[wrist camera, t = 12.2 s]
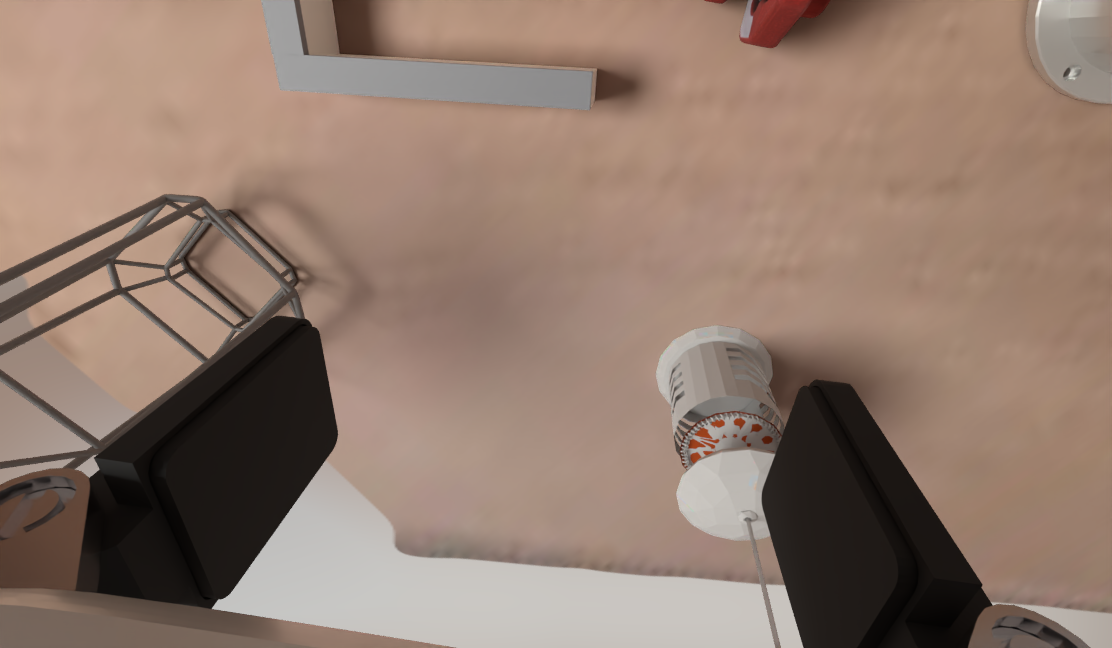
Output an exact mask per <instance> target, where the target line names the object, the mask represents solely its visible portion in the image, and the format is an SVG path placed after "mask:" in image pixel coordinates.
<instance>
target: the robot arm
mask: <svg viewBox="0 0 1112 648" xmlns="http://www.w3.org/2000/svg"><path fill="white" fill-rule="evenodd" d="M1025 29H1026V39H1027V48H1028V51H1029V54H1030V57H1031V60H1032V62H1033V65H1034V67H1035V69H1036V70H1037V71H1038V73H1039V74H1040V76H1041V77H1042V78H1043V80H1044V81H1045V82H1046V83H1048V84H1049V85H1050V86H1051V87H1053V88H1054V89H1055V90H1057V91H1058V92H1059V93H1062V94H1064V95H1067V96H1069V97H1071V98H1074V99H1076V100H1082V101H1088V102H1093V103H1103V104H1112V0H1029V3H1028V9H1027V18H1026V28H1025ZM1064 72H1065V73H1064ZM337 437H338V430H337V424H336V419H335V413H334V408H333V403H332V397H331V392H330V387H329V381H328V376H327V371H326V365H325V360H324V354H323V349H322V344H321V338H320V334H319V331H318V330H317V328H315V327H312V325H311V323H310V322H309V321H308V320H307V319H303V318H294V317H286V316H275V317H273V318H271V319H270V320H269V321H267V322H266V323H265V324H264V325H262V326H261V327H260V328H258V329H257V330H256V331H255V332H253V333H252V334H251V335H250V336H248V337H247V338H246V339H244V340H243V341H242V342H241V343H239V344H238V345H237V346H236V347H234V348H233V349H232V350H230V351H229V352H228V353H227V354H225V355H224V356H223V357H222V358H220V359H219V360H218V361H216V362H215V363H214V364H213V365H211V366H210V367H209V368H208V369H206V370H205V371H204V372H202V373H201V374H200V375H199V376H197V377H196V378H195V379H194V380H192V381H191V382H190V383H188V384H187V385H186V386H185V387H183V388H182V389H181V390H180V391H178V392H177V393H176V394H174V395H173V396H172V397H171V398H169V399H168V400H167V401H166V402H164V403H163V404H162V405H160V406H159V407H158V408H157V409H155V410H154V411H153V412H152V413H150V414H149V415H148V416H146V417H145V418H144V419H143V420H141V421H140V422H139V423H138V424H136V425H135V426H134V427H133V428H131V429H130V430H129V431H127V432H126V433H125V434H124V435H122V436H121V437H120V438H119V439H117V440H116V441H115V442H113V443H112V444H111V445H110V446H108V447H107V448H106V449H105V450H103V451H102V452H101V453H99V454H98V455H97V456H96V457H94V459H95V461H96V463H97V465H98V467H99V469H100V470H99V471H97V472H96V473H95V474H94V475H93V476H91V477H90V478H89V477H88V476H86V475H85V474H84V473H83V472H82V471H79V470H74V469H70V468H56V469H47V470H42V471H37V472H32V473H29V474H26V475H23V476H20V477H17V478H14V479H11V480H9V481H7V482H5V483H3V484H1V485H0V648H454V647H448V646H442V645H435V644H429V643H423V642H417V641H411V640H404V639H398V638H392V637H386V636H380V635H374V634H367V633H361V632H355V631H348V630H342V629H335V628H329V627H323V626H316V625H310V624H303V623H297V622H291V621H284V620H278V619H272V618H265V617H259V616H252V615H246V614H240V613H233V612H227V611H221V610H214V609H212V607H213V606H214V604H215V603H216V602H217V600H218V599H223V598H225V597H226V596H228V595H229V594H230V593H231V592H232V590H233V589H234V588H235V586H236V585H237V584H238V582H239V581H240V579H241V578H242V577H243V575H244V574H245V572H246V571H247V569H248V568H249V567H250V565H251V564H252V562H253V561H254V560H255V558H256V557H257V555H258V554H259V553H260V551H261V550H262V548H263V547H264V546H265V544H266V543H267V542H268V540H269V539H270V537H271V536H272V535H273V533H274V532H275V530H276V529H277V528H278V526H279V524H280V523H281V522H282V520H283V519H284V518H285V516H286V515H287V513H288V512H289V511H290V509H291V508H292V506H293V505H294V504H295V502H296V501H297V499H298V498H299V497H300V495H301V494H302V492H303V491H304V490H305V488H306V487H307V485H308V484H309V483H310V481H311V480H312V478H313V477H314V476H315V474H316V473H317V471H318V470H319V469H320V467H321V466H322V464H323V463H324V462H325V460H326V459H327V457H328V456H329V455H330V453H331V452H332V450H333V449H334V447H335V445H336V442H337ZM761 501H762V508H763V512H764V515H765V519H766V522H767V525H768V529H769V532H770V535H771V539H772V542H773V546H774V549H775V552H776V556H777V559H778V563H779V566H780V569H781V573H782V576H783V580H784V583H785V586H786V590H787V593H788V596H789V600H790V603H791V607H792V610H793V613H794V617H795V620H796V624H797V627H798V630H799V634H800V637H801V640H802V644H803V647H804V648H1090V647H1089V646H1088V645H1087V644H1086V643H1084V642H1083V641H1082V640H1081V639H1080V638H1079V637H1077V636H1076V635H1074V634H1073V633H1071V632H1070V631H1068V630H1067V629H1065V628H1064V627H1062V626H1061V625H1059V624H1058V623H1056V622H1054V621H1052V620H1050V619H1048V618H1046V617H1044V616H1042V615H1040V614H1038V613H1036V612H1034V611H1031V610H1028V609H1025V608H1021V607H1018V606H1015V605H1002V604H996V605H992V603H991V602H990V600H989V599H988V597H987V596H986V594H985V593H984V591H983V590H982V588H981V587H982V583H981V582H980V580H979V579H978V577H977V576H976V574H975V572H974V571H973V569H972V568H971V566H970V565H969V563H968V562H967V560H966V559H965V557H964V556H963V554H962V553H961V551H960V550H959V548H958V547H957V545H956V544H955V542H954V541H953V539H952V538H951V536H950V534H949V533H948V531H947V530H946V528H945V527H944V525H943V524H942V522H941V521H940V519H939V518H938V516H937V515H936V513H935V512H934V510H933V509H932V507H931V506H930V504H929V503H928V501H927V500H926V498H925V496H924V495H923V493H922V492H921V490H920V489H919V487H918V486H917V484H916V483H915V481H914V480H913V478H912V477H911V475H910V474H909V472H908V471H907V469H906V468H905V466H904V465H903V463H902V462H901V460H900V459H899V457H898V455H897V454H896V452H895V451H894V449H893V448H892V446H891V445H890V443H889V442H888V440H887V439H886V437H885V436H884V434H883V433H882V431H881V430H880V428H879V427H878V425H877V424H876V422H875V421H874V419H873V417H872V416H871V414H870V413H869V411H868V410H867V408H866V407H865V405H864V404H863V402H862V401H861V399H860V398H859V396H858V395H857V393H856V392H855V390H854V389H853V387H852V386H851V385H850V384H847V383H840V382H832V381H823V380H814V381H813V382H812V383H811V384H810V386H809V387H808V386H803V387H801V389H800V390H799V392H798V395H797V397H796V400H795V403H794V405H793V408H792V411H791V413H790V416H789V419H788V421H787V424H786V427H785V430H784V432H783V435H782V438H781V440H780V443H779V446H778V448H777V451H776V454H775V456H774V459H773V462H772V465H771V467H770V470H769V473H768V475H767V478H766V481H765V483H764V486H763V489H762V497H761Z"/></svg>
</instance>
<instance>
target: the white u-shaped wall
mask: <svg viewBox="0 0 1112 648" xmlns="http://www.w3.org/2000/svg"><path fill="white" fill-rule="evenodd" d="M261 2H262V7H263V12H264V17H265V22H266V27H267V32H268V37H269V41H270V46H271V51H272V54H273V57H274V62H275V67H276V72H277V77H278V82H279V87H280V90H286V91H301V92H317V93H332V94H348V95H363V96H379V97H394V98H410V99H425V100H441V101H456V102H472V103H487V104H503V105H518V106H534V107H549V108H565V109H580V110H590V108H591V106H592V105H593V103H594V101H595V91H596V78H597V69H596V68H579V67H561V66H544V65H526V64H509V63H491V62H473V61H456V60H438V59H421V58H403V57H386V56H368V55H350V54H340V51H339V44H338V37H337V30H336V23H335V17H334V10H333V3H332V0H261Z"/></svg>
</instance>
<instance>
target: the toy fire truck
mask: <svg viewBox="0 0 1112 648" xmlns="http://www.w3.org/2000/svg"><path fill="white" fill-rule="evenodd" d="M705 1H709V2H714V3H724V2H726V1H727V0H705ZM829 2H830V0H748V3H747V6H746V10H745V14H744V17H743V21H742V25H741V29H740V35H739V37H740V40H741V41H742V42H743V43H746V44H751V45H756V46H761V47H767V48H774V47H776V46H777V45H778V43H779V42H780V41H781V39H782V38H783V37H784V36H785V35H786V33H787V32H788V31H789V30H790V29H791V27H792V26H793V25H794V24H795V23H796V21H797V20H798V19H799V18H800V17H806V18H814V17H816V16H818V15H820V14H821V13H822V12H823V11H824V9H825V8H826V6H827V5H828V4H829Z"/></svg>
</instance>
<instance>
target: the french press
mask: <svg viewBox="0 0 1112 648" xmlns="http://www.w3.org/2000/svg"><path fill="white" fill-rule="evenodd" d="M772 376H773V371H772V361H771V356H770V354H769V353H768V351H767V350H766V349H765V347H764V346H763V344H762V343H761V341H760V340H759V339H757V338H755V337H753V336H752V335H750V334H748V333H747V332H745V331H743V330H742V329H737V328H731V327H725V326H719V325H716V326H710V327H704V328H698V329H693V330H691V331H690V332H688V333H686V334H684V335H682V336H680V337H679V338H677V339H675V340H673V342H672V343H671V344H670V345H669V346H668V348H667V349H666V350H665V351H664V352H663V354H662V355H661V356H660V360H659V363H658V367H657V371H656V378H657V382H658V387H659V391H660V393H661V394H662V395H663V396H664V398H665V399H666V400H667V401H668V402H669V404H670V405H671V414H673V415H672V424H673V432H674V439H675V436H676V438H677V439H678V441H679V442H680V444H681V447H680V446H679V445H678V443H677V442H676V440H675V446H676V451H677V453H678V454H679V455H680V457H681V460H682V465H683V466H684V467H685V469H686V470H687V471H686V472H685V473H684V474H683V476H682V478H681V481H680V484H679V487H678V490H677V492H676V495H677V499H678V504H679V509H680V511H681V512H682V514H683V515H684V516H685V517H686V518H687V519H688V521H689V522H690V523H691V524H692V525H693V526H695V527H697V528H699V529H701V530H702V531H704V532H706V533H708V534H710V535H712V536H717V537H721V538H726V539H731V540H735V541H741V540H751V544H752V548H753V553H754V557H755V561H756V566H757V570H758V574H759V579H760V583H761V587H762V592H763V596H764V600H765V605H766V609H767V613H768V617H769V622H770V626H771V631H772V635H773V639H774V644H775V647H776V648H781V646H780V642H779V638H778V634H777V630H776V626H775V622H774V617H773V613H772V609H771V605H770V601H769V597H768V592H767V588H766V584H765V580H764V576H763V572H762V568H761V563H760V559H759V555H758V551H757V547H756V543H755V540H756V539H763V538H766V537H769V536H771V535H770V532H769V529H768V525H767V522H766V519H765V515H764V512H763V508H762V501H761V497H762V489H763V486H764V483H765V481H766V478H767V475H768V473H769V470H770V467H771V465H772V462H773V459H774V456H775V454H776V451H777V448H778V446H779V443H780V440H781V438H782V435H783V432H784V424H783V420H782V418H781V415H780V412H779V409H778V408H777V405H776V402H775V399H774V397H773V395H772V392H771V389H770V387H769V384H770V381H771V379H772ZM767 392H768V393H769V395H767ZM770 392H771V393H770ZM771 397H772V400H771ZM761 403H763V404H765V405H764V406H763V407H762V408H761V409H760V406H759V405H760V404H761ZM774 403H775V404H774ZM768 407H770V408H771V410H770V413H769V415H768V416H767V417H765V418H763V414H764V413H765V412H766V411H767V410H768ZM673 408H674V411H673ZM774 412H775V413H776V414H777V415H776V418H775V421H774V424H772V423H770V421H771V419H772V417H773V414H774ZM681 418H684V419H685V420H687V421H689V422H695V423H696V424H695V425H694V426H689V425H688V424H686V423H684V422H682V421H681V420H680V419H681ZM779 418H780V422H781V427H780V430H779V431H778V429H777V425H778V422H779ZM678 424H679V425H680V426H682V427H684V428H686V429H688V430H689V431H688V432H687V433H685V432H684V431H682V430H680V428H679V427H678ZM676 429H677V430H678V432H679V433H680V435H681V436H683V440H681V439H680V437H679V436H678V434H677V433H676Z"/></svg>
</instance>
